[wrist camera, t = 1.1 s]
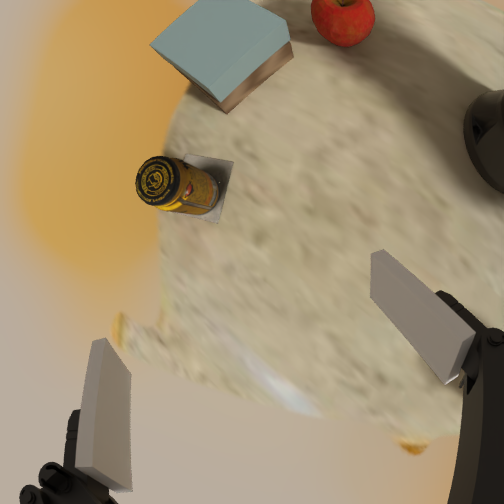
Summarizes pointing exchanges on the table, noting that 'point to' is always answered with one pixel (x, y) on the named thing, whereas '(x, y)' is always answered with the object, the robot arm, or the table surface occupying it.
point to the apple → (343, 20)
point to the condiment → (185, 185)
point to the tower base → (252, 78)
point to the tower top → (221, 42)
